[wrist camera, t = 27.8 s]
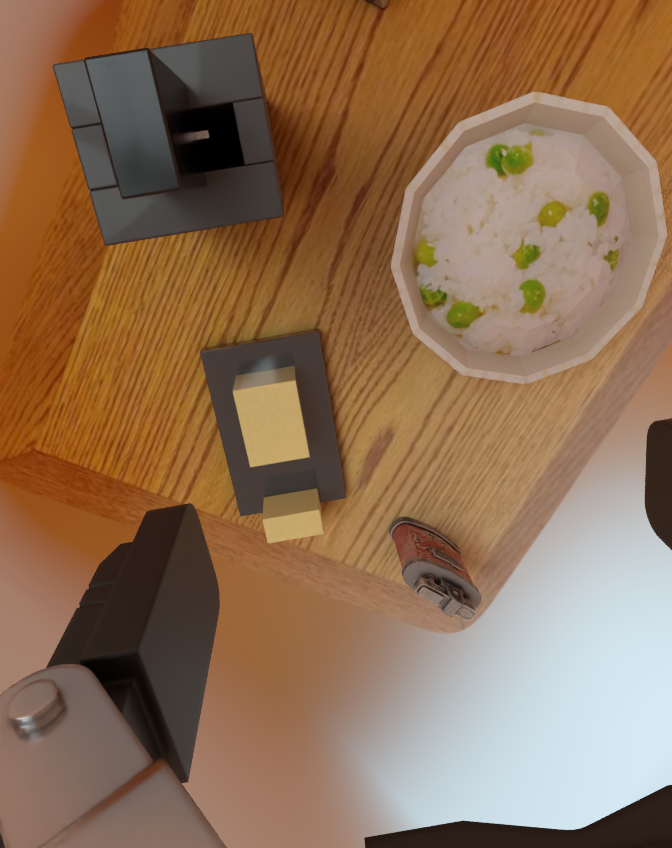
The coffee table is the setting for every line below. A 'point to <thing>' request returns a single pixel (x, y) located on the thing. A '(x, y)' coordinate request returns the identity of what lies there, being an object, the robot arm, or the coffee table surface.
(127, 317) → the coffee table surface
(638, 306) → the bowl
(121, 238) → the knife block
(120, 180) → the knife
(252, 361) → the butter board
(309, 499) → the butter pat
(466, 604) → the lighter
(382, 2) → the rock
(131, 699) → the robot arm
